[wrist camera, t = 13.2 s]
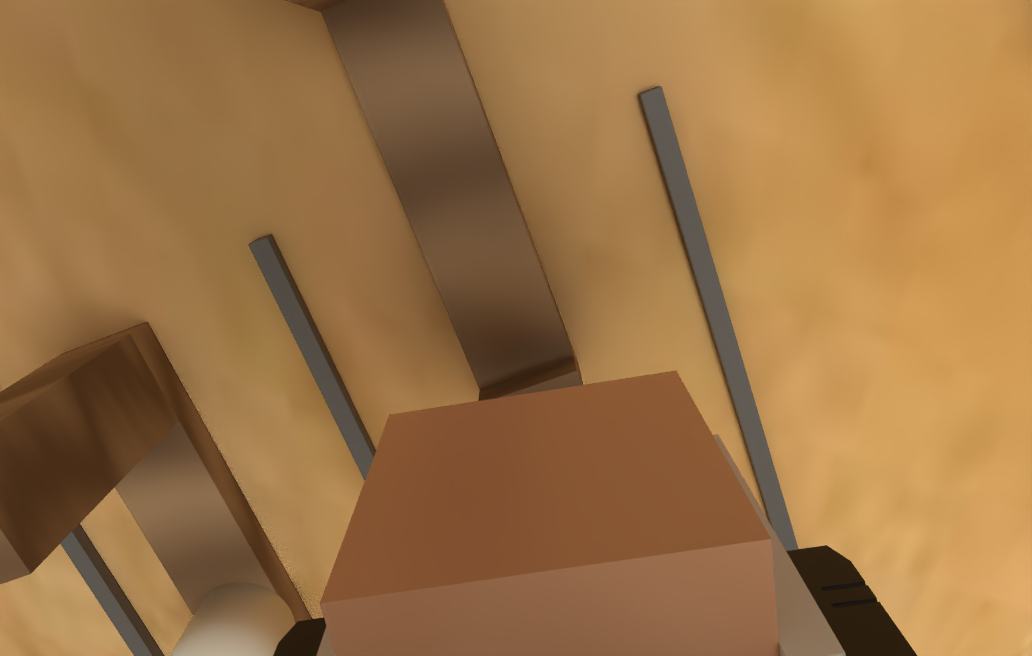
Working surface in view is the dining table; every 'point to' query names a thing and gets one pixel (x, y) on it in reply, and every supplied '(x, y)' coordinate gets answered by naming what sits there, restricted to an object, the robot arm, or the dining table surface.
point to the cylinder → (236, 623)
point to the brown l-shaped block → (454, 190)
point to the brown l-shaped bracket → (126, 469)
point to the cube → (554, 533)
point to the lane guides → (354, 430)
